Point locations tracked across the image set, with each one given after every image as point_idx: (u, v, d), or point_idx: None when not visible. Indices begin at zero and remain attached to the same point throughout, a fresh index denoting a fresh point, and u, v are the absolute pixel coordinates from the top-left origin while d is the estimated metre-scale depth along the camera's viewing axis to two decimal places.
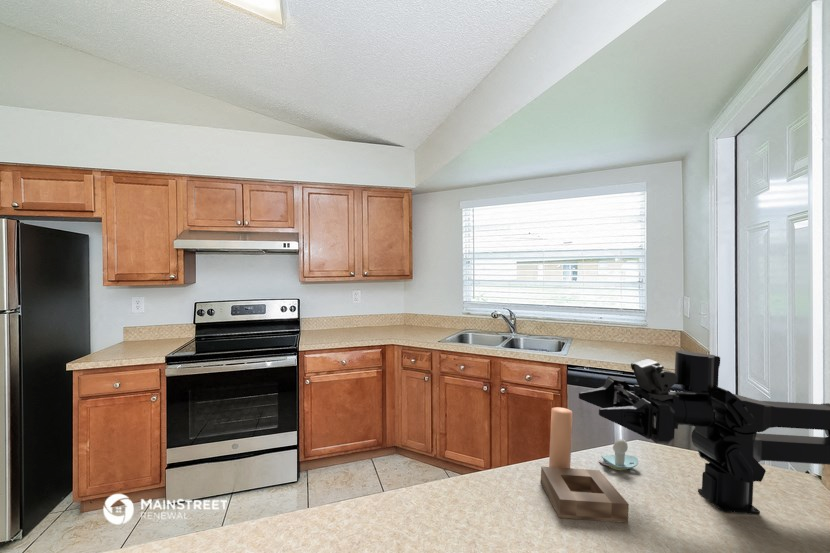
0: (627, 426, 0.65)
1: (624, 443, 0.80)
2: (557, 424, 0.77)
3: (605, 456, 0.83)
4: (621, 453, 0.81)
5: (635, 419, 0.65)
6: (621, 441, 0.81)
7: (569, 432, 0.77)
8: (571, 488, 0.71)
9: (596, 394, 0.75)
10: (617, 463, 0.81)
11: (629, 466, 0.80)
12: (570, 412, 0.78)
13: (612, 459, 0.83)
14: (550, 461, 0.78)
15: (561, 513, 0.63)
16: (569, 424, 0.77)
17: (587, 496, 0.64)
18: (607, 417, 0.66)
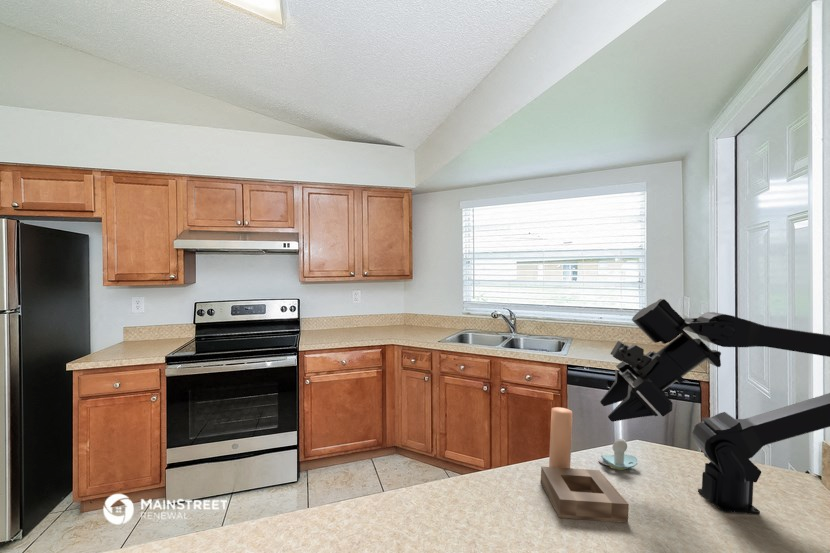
0: (636, 415, 0.69)
1: (623, 443, 0.81)
2: (557, 424, 0.77)
3: (604, 456, 0.83)
4: (620, 453, 0.81)
5: (638, 405, 0.69)
6: (620, 441, 0.81)
7: (569, 432, 0.77)
8: (571, 488, 0.71)
9: (613, 392, 0.80)
10: (616, 463, 0.81)
11: (628, 466, 0.80)
12: (570, 412, 0.78)
13: (611, 459, 0.83)
14: (550, 461, 0.78)
15: (561, 513, 0.63)
16: (569, 424, 0.77)
17: (587, 496, 0.64)
18: (618, 419, 0.71)
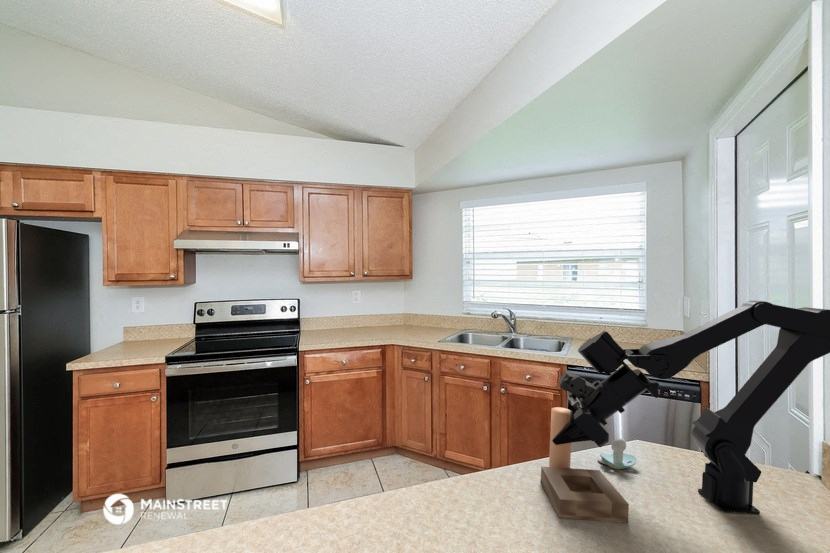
0: (577, 440, 0.74)
1: (622, 442, 0.81)
2: (557, 424, 0.77)
3: (603, 455, 0.84)
4: (619, 452, 0.81)
5: (578, 430, 0.74)
6: (619, 440, 0.81)
7: None
8: (571, 488, 0.71)
9: None
10: (615, 462, 0.81)
11: (627, 465, 0.80)
12: None
13: (610, 458, 0.84)
14: (550, 461, 0.78)
15: (561, 513, 0.63)
16: None
17: (587, 496, 0.64)
18: (561, 442, 0.76)
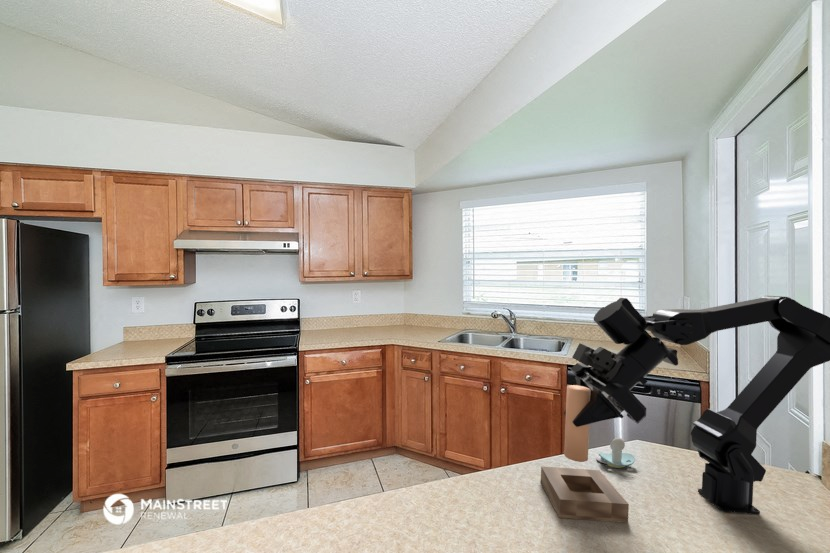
0: (601, 418, 0.67)
1: (621, 441, 0.81)
2: (576, 403, 0.69)
3: (602, 454, 0.84)
4: (618, 451, 0.82)
5: (602, 408, 0.67)
6: (618, 439, 0.82)
7: None
8: (571, 488, 0.71)
9: None
10: (614, 461, 0.82)
11: (626, 464, 0.81)
12: (588, 389, 0.70)
13: (609, 457, 0.84)
14: (567, 446, 0.70)
15: (561, 513, 0.63)
16: None
17: (587, 496, 0.64)
18: (583, 423, 0.68)
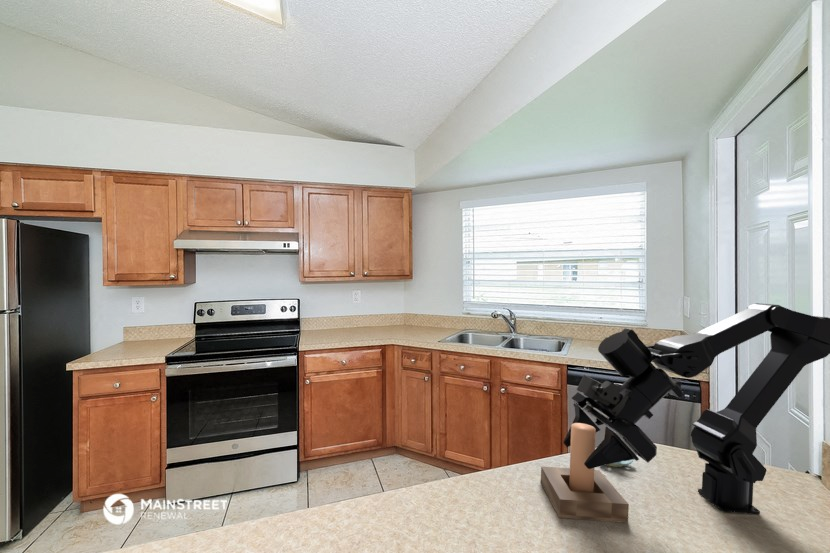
0: (615, 460, 0.63)
1: None
2: (582, 444, 0.67)
3: None
4: None
5: (616, 448, 0.63)
6: None
7: None
8: None
9: None
10: None
11: (624, 463, 0.81)
12: (593, 428, 0.68)
13: None
14: (573, 487, 0.68)
15: (561, 513, 0.63)
16: (594, 442, 0.67)
17: (587, 496, 0.64)
18: (595, 465, 0.64)
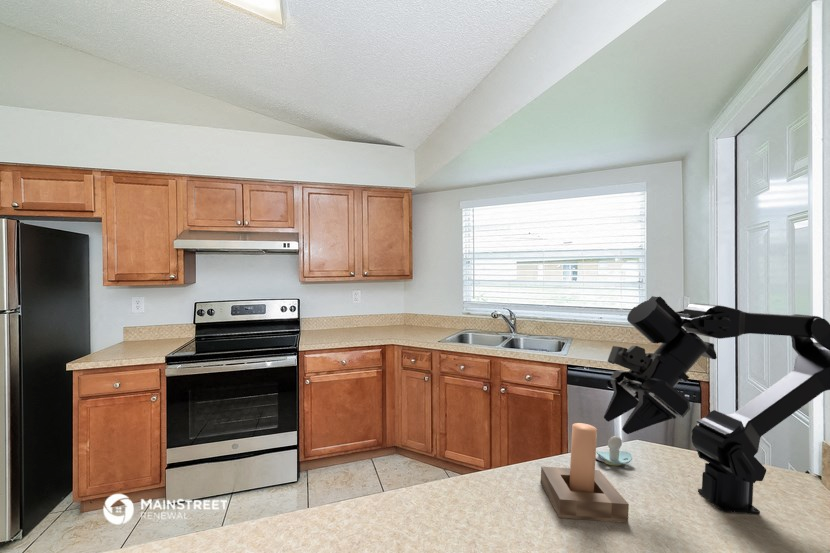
0: (653, 422, 0.63)
1: (618, 439, 0.82)
2: (583, 444, 0.67)
3: (600, 452, 0.85)
4: (615, 449, 0.83)
5: (652, 410, 0.63)
6: (615, 437, 0.83)
7: (595, 452, 0.67)
8: None
9: (615, 404, 0.74)
10: (612, 459, 0.83)
11: (623, 462, 0.82)
12: (594, 428, 0.68)
13: (607, 455, 0.85)
14: (573, 487, 0.68)
15: (561, 513, 0.63)
16: (595, 442, 0.67)
17: (587, 496, 0.64)
18: (633, 430, 0.64)
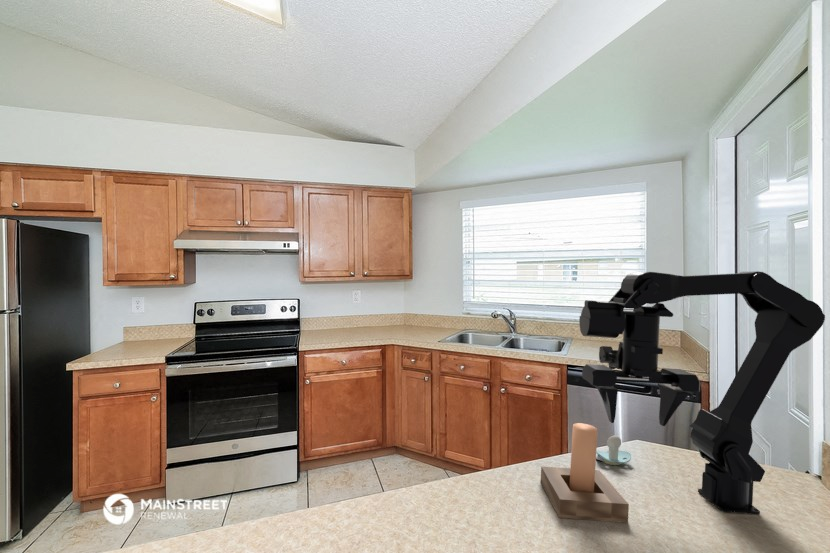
0: (608, 402, 0.70)
1: (618, 439, 0.83)
2: (584, 444, 0.66)
3: (599, 451, 0.85)
4: (615, 448, 0.83)
5: None
6: (615, 437, 0.83)
7: None
8: None
9: (662, 406, 0.72)
10: (611, 458, 0.83)
11: (622, 461, 0.82)
12: (595, 428, 0.68)
13: (606, 454, 0.85)
14: (573, 487, 0.68)
15: (561, 513, 0.63)
16: (596, 442, 0.67)
17: (587, 496, 0.64)
18: (610, 416, 0.71)
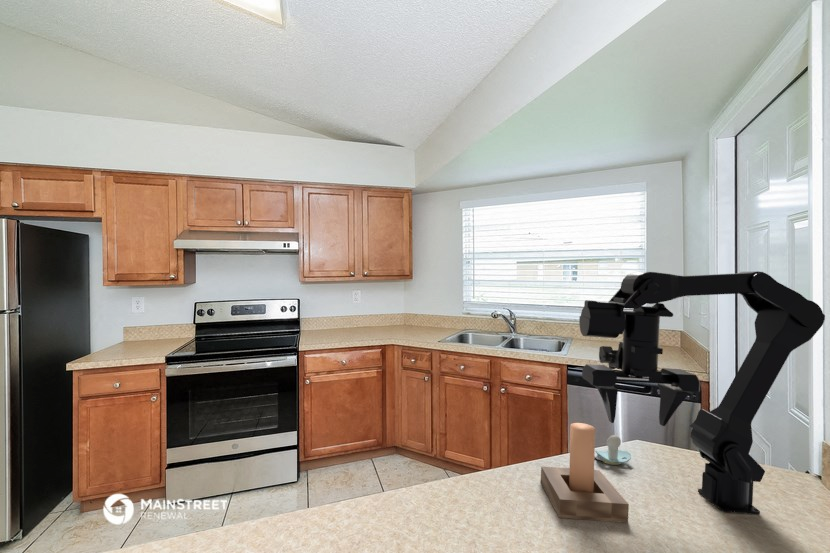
0: (608, 402, 0.70)
1: (617, 438, 0.83)
2: (582, 444, 0.67)
3: (599, 451, 0.86)
4: (614, 448, 0.83)
5: None
6: (614, 436, 0.83)
7: (594, 451, 0.67)
8: None
9: (662, 406, 0.72)
10: (610, 458, 0.83)
11: (622, 461, 0.82)
12: (592, 428, 0.68)
13: (606, 454, 0.85)
14: (573, 487, 0.68)
15: (561, 513, 0.63)
16: (594, 442, 0.67)
17: (587, 496, 0.64)
18: (610, 416, 0.71)
